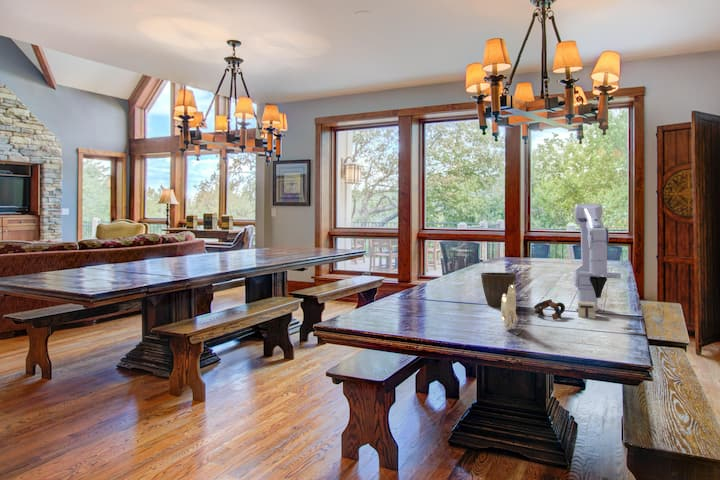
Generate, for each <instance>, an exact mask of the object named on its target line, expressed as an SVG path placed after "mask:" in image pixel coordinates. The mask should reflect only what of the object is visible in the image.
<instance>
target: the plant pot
mask: <svg viewBox="0 0 720 480" xmlns="http://www.w3.org/2000/svg"><path fill="white" fill-rule="evenodd" d="M480 276H481V283H482V289H483V293H484V298H485V300H486V303H487V306H488V307H490V306H491V307H493V308H500V309H501V302H502V301H501V299H502V296H503V294H506V295H507V293H508V288H509V286H510V285H513V282H514V285H515V284H516V280H517V273H512V272H481V273H480ZM491 307H490V308H491Z"/></svg>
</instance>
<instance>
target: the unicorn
mask: <svg viewBox="0 0 720 480" xmlns="http://www.w3.org/2000/svg"><path fill="white" fill-rule="evenodd" d="M516 286H517V285H516V283H515V285H514V282H513V285H510V286H509V288H508V293H507V295H506V294H503V296H502V299H501V301H502V302H501V308H500V309H501V310H500V312H501V318H502V320H503V322H504V325H503V327H504V328H505V329H506V328H512V327H513V328H515V327H516V326H517V324H518V321H519V320H518V318H519V317H518V315H517V312H516V310H517V297H516V295H517V289H516ZM512 319H513V320H512Z"/></svg>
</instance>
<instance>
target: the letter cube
mask: <svg viewBox="0 0 720 480" xmlns="http://www.w3.org/2000/svg"><path fill="white" fill-rule="evenodd" d="M577 308H578V310H577V311H578V312H577V314H578V315H577V316H578V318H585V319H586V318H587V319H596V311H595V302H579V303H578V302H577Z"/></svg>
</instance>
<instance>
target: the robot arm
mask: <svg viewBox="0 0 720 480" xmlns="http://www.w3.org/2000/svg"><path fill="white" fill-rule="evenodd" d="M602 215H603V205H602V203H600V202H599V203H598V202H597V203H576V204H575V205H574V223H575V224H576V225H577V226H579V229H580V247H581V248H580V251H581V252H580V255H581V256H580V257H581V259H580V260H581V264H580V265H578V266H577V267H576V268H575V269H574V275H573V283H574V286H575V287H576V288H577V304H578V303H579V302H595V312H597V311H599V310H601V307H599V304H598V303H599V302H598V299H601V297H602V293H603V290H604V287H605V285H606V283H607V281H608V279H618V280H620V279H621V278H622V273H621V272H608V266H607V265H608V244H609V239H610V233H609V232H610V231H609V228H608V227H606V226H605V225H604V223H603V221H602V219H601V218H602ZM575 310H576V311H578V307H575Z"/></svg>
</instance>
